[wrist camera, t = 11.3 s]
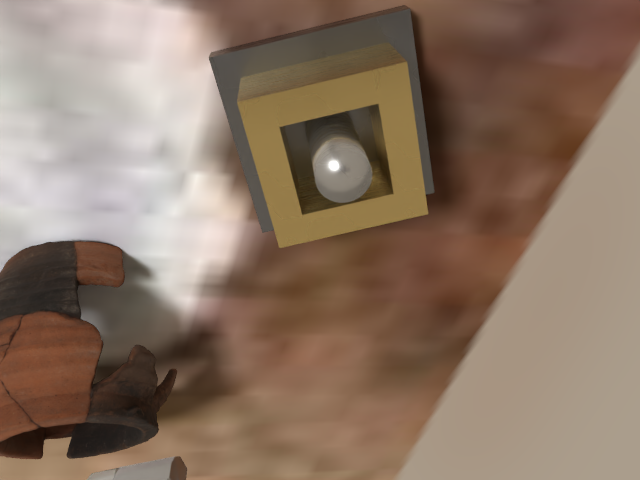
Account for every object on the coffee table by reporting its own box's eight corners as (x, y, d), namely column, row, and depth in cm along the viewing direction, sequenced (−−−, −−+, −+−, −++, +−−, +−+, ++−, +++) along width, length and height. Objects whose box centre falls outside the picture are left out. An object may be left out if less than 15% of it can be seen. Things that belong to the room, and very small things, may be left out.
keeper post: (210, 52, 24) (195, 91, 18) (404, 5, 23) (444, 31, 18) (262, 222, 28) (261, 294, 22) (429, 183, 27) (467, 247, 22)
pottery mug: (187, 237, 28) (196, 406, 24) (153, 318, 36) (156, 460, 31) (-115, 214, 23) (-168, 423, 19) (-84, 314, 31) (-117, 482, 26)
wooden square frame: (240, 77, 23) (237, 102, 20) (388, 42, 23) (407, 61, 20) (277, 209, 26) (279, 248, 23) (409, 178, 26) (428, 213, 23)
